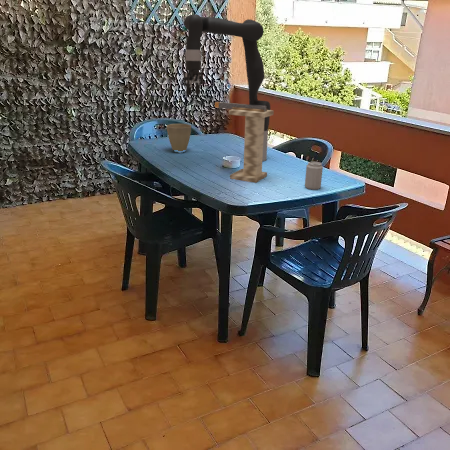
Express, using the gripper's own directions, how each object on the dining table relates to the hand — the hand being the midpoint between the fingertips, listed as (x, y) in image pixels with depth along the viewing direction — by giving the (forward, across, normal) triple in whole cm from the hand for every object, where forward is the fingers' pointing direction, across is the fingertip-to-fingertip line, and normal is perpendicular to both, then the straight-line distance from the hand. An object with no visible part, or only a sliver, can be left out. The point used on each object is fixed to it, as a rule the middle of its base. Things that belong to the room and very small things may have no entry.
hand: (193, 94), depth 227 cm
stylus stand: (+38, +1, -32) cm, 50 cm away
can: (+39, 0, -65) cm, 75 cm away
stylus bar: (+5, +1, -26) cm, 26 cm away
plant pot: (+38, +32, +28) cm, 57 cm away
